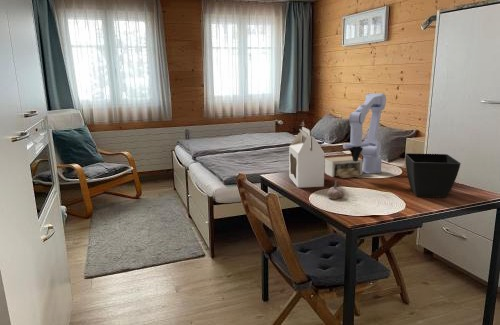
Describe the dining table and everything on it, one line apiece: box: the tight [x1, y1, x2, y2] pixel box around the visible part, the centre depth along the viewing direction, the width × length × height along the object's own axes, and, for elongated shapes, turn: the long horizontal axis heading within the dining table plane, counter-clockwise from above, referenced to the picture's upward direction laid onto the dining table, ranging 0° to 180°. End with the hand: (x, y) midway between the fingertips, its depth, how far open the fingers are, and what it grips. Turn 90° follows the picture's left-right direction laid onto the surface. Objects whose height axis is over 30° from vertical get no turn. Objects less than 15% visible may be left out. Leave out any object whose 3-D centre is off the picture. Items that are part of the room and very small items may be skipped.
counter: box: [324, 155, 363, 178], centre depth 212 cm, size 18×10×9 cm, turn 104°
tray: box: [334, 164, 360, 179], centre depth 209 cm, size 12×11×5 cm
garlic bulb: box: [326, 180, 345, 200], centre depth 169 cm, size 8×7×8 cm
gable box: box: [288, 126, 325, 189], centre depth 195 cm, size 22×13×28 cm, turn 5°
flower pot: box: [404, 152, 462, 199], centre depth 172 cm, size 19×19×17 cm
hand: (355, 161), depth 198 cm, fingers closed
